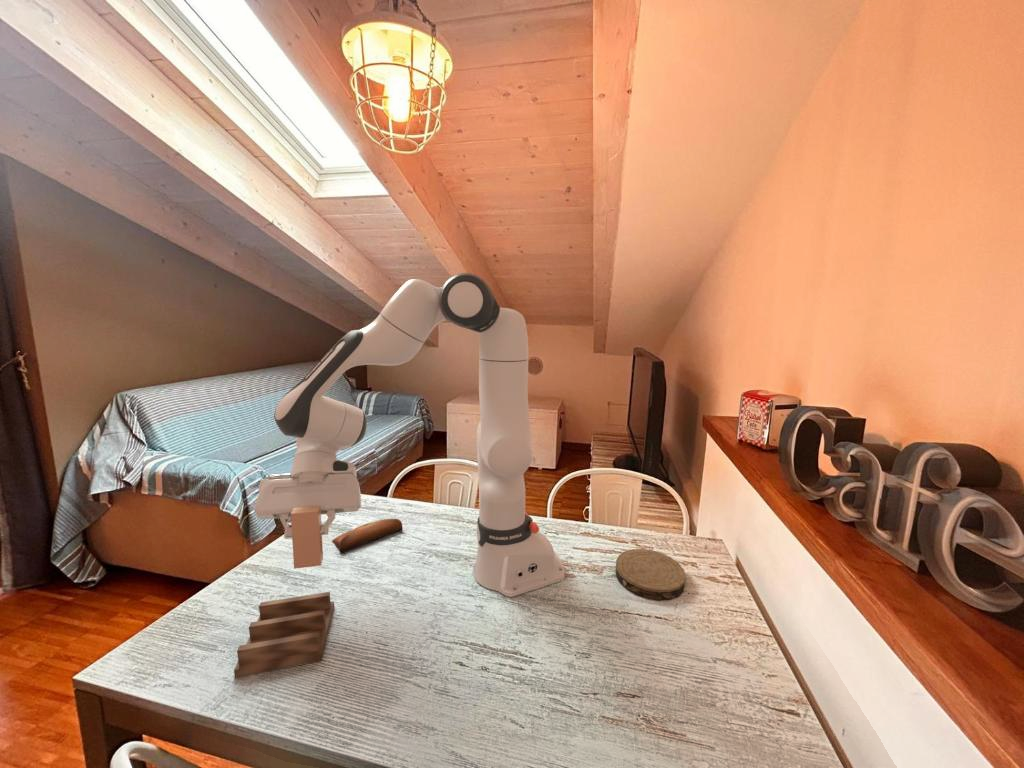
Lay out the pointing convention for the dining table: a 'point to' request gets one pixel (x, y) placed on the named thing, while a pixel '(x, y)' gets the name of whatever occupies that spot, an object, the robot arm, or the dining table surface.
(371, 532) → the sunglasses case
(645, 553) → the wood slice
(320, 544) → the clay slab
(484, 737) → the dining table surface
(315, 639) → the rack
